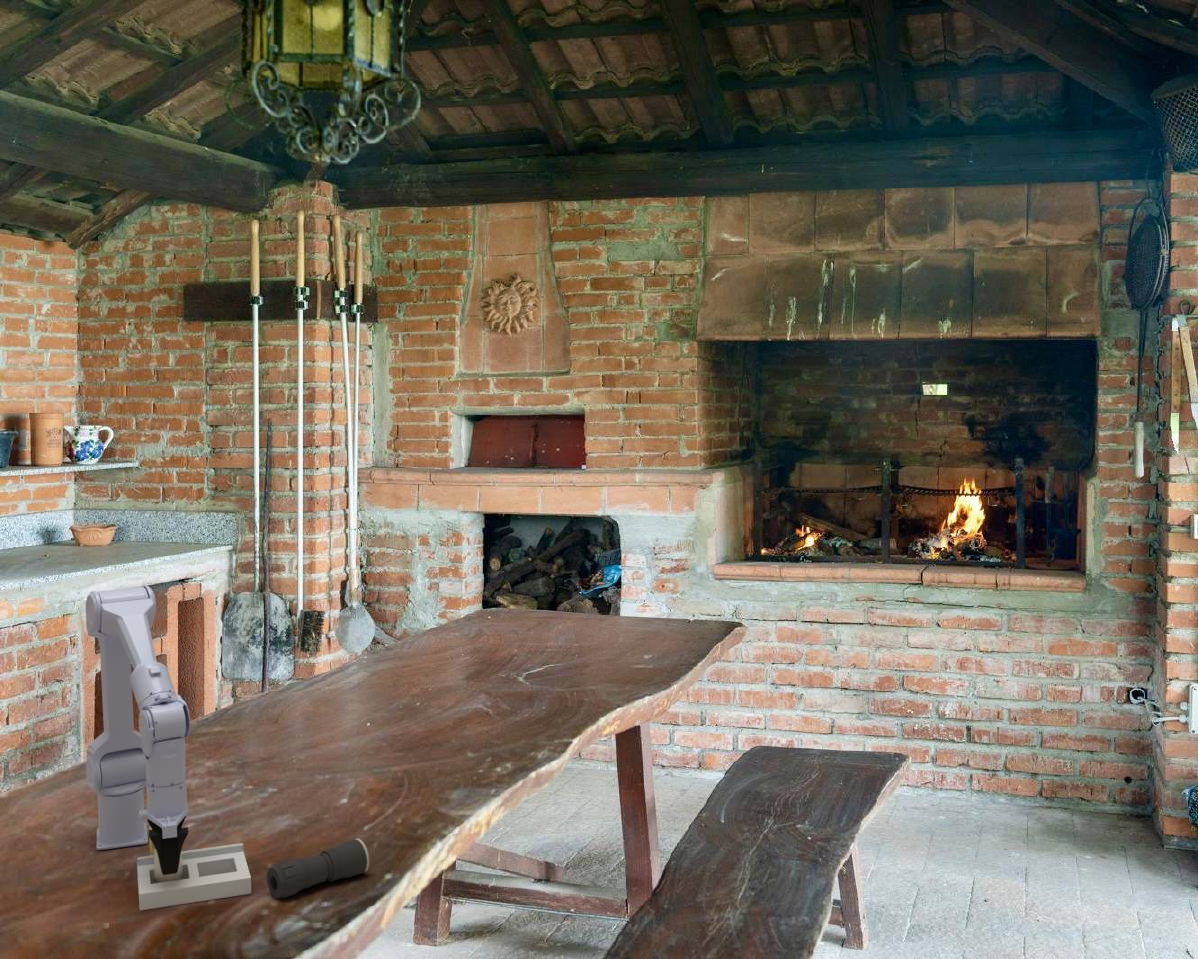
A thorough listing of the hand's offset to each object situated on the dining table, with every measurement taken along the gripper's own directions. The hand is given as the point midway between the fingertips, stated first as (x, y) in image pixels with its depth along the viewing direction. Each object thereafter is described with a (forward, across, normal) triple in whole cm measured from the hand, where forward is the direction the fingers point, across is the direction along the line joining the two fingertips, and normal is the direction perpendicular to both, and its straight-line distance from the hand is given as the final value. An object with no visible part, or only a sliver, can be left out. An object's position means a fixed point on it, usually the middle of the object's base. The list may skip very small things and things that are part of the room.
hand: (169, 867), depth 190 cm
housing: (+4, 0, +4) cm, 5 cm away
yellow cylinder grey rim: (+4, -9, 0) cm, 10 cm away
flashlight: (+4, +6, +22) cm, 23 cm away
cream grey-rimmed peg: (+2, 0, 0) cm, 2 cm away
